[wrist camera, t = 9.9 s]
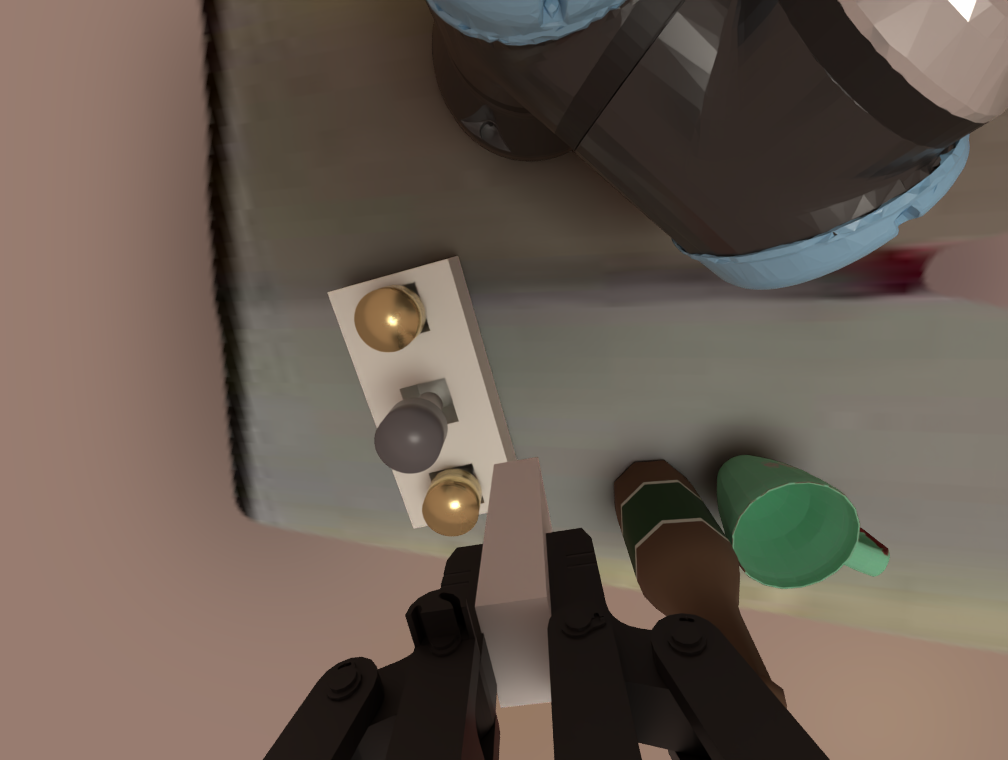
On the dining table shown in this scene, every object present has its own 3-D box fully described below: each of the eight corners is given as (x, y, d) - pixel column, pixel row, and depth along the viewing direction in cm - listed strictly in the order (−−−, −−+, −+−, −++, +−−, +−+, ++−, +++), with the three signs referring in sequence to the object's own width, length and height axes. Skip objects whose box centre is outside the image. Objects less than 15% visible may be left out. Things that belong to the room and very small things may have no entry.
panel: (353, 285, 44) (327, 292, 39) (458, 255, 43) (447, 258, 37) (426, 494, 50) (413, 528, 44) (520, 473, 49) (520, 505, 43)
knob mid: (395, 385, 41) (365, 420, 33) (447, 372, 40) (429, 404, 33) (412, 435, 42) (387, 479, 34) (463, 422, 41) (449, 465, 34)
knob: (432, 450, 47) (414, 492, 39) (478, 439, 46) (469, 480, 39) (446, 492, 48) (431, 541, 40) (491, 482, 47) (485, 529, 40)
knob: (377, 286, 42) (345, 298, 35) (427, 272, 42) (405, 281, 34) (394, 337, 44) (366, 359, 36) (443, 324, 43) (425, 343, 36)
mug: (673, 501, 49) (709, 566, 40) (720, 416, 46) (771, 464, 37) (804, 549, 50) (870, 623, 41) (857, 468, 47) (941, 528, 38)
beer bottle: (597, 476, 49) (660, 692, 26) (670, 443, 47) (805, 640, 24) (629, 536, 51) (715, 788, 28) (700, 506, 49) (853, 744, 26)
